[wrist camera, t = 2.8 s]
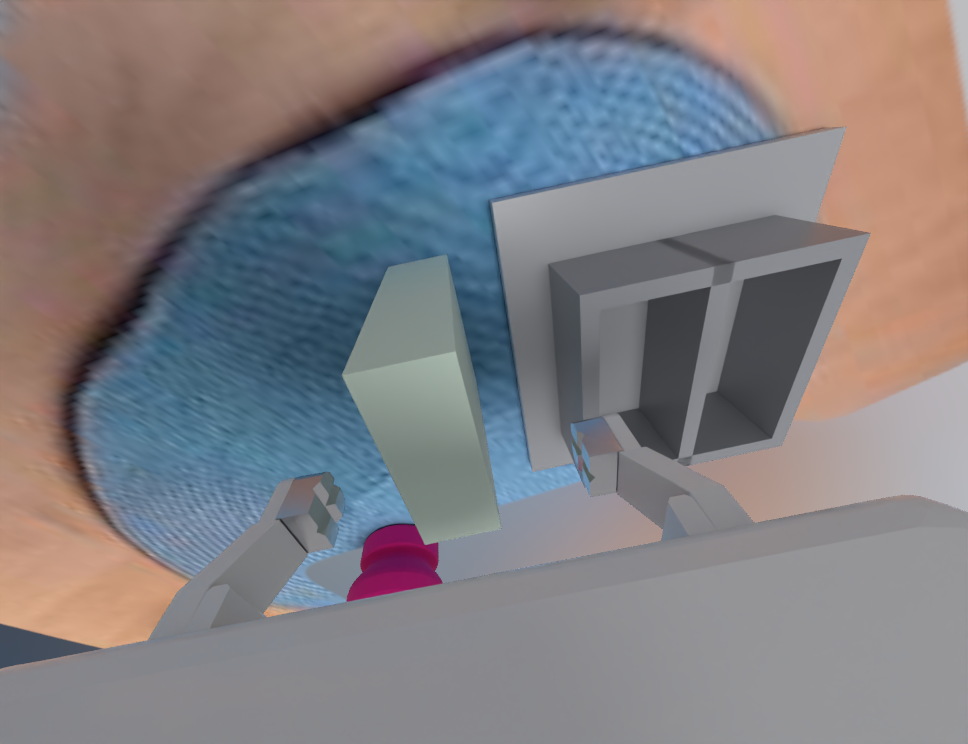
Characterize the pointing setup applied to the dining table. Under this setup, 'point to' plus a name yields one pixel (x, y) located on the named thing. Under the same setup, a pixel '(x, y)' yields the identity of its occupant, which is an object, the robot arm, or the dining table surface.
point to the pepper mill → (395, 563)
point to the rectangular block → (425, 401)
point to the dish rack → (675, 298)
